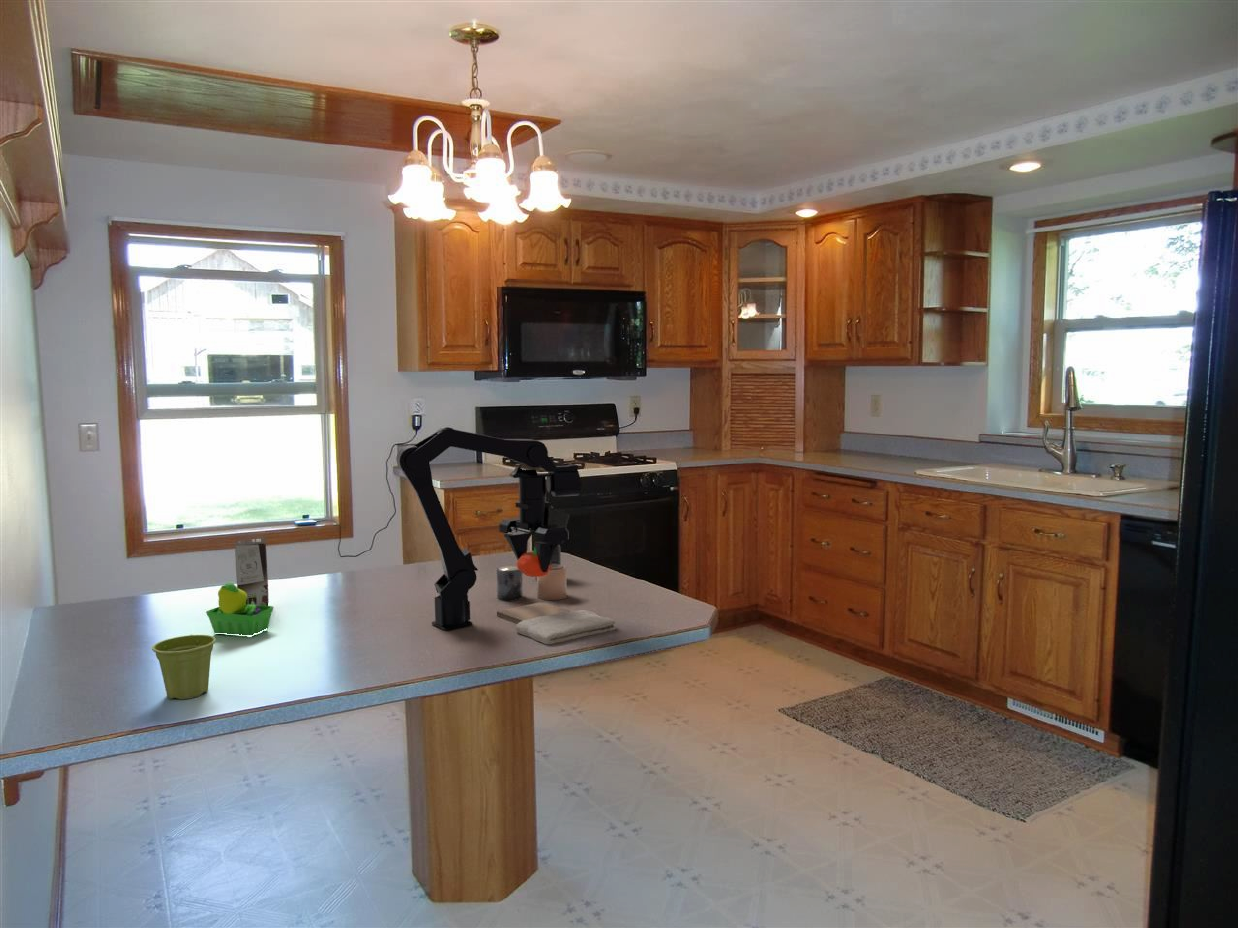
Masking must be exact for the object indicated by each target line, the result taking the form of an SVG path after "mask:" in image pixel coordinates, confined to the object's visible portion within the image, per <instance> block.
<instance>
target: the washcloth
mask: <svg viewBox="0 0 1238 928" xmlns="http://www.w3.org/2000/svg"><path fill="white" fill-rule="evenodd" d="M615 624H616V621H615V619H612V618H609V617H604V616H602V615H601V616H600V615H598V614H596V613H595V612H593V611H590V610H589V611H588V610H585V609H579V610H577V611H571V612H567V611H561V612H558V613H556V614H552V615H546V616H540V617H537V618H533V619H529V620H523V621H521V622H519V623H518V624H517V623H516V625H515V628H514V630H515V631H516V632H517V633H518V634H520V635H523V636H525V637H529V638H531V639H532V640H534V641H536V642H540V643H541V644H544V645H553V644H557V643H562V642H566V641H570V640H575V639H579V638H583V637H587V636H593V635H596V634H601V633H605V632H606V633H607V632H610V631H615V630H616V626H615Z"/></svg>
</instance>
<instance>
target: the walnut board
mask: <svg viewBox="0 0 1238 928" xmlns="http://www.w3.org/2000/svg"><path fill="white" fill-rule="evenodd" d="M561 611H567V612H571V611H570V610H567V609H565V608H561V607H558V606H555V605H552V604H550V603H547V602H543V601H540V602H535V603H531V604H526V605H521V606H516V607H512V608H507V609H501V610H497V611H496V617H499V618H502V619H505V620H507V621H509V622H513V623H515V624H516V625H517V624H518V623H519V622H521V621H523V620H529V619H533V618H537V617H540V616H546V615H552V614H556V613H558V612H561Z"/></svg>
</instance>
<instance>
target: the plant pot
mask: <svg viewBox="0 0 1238 928" xmlns="http://www.w3.org/2000/svg"><path fill="white" fill-rule="evenodd" d="M215 643H216V637H215V636H213V635H209V634H191V635H189V634H188V635H181V636H175V637H172V638H166V639H165V640H161V641H160V642H157V643H155V644H153V645H152V647H151V650H152V652H154V653H155V657H156V659H157V660H158V663H159V666H160V670H161V675H162V678H163V685H164V688H165V693H166V697H167V698H168V699H175V698H176V699H178V700H187V699H193V698H196V697H199V696H201V695H202V694H203V693H207V692H208V691H209V684H210V683H209V682H210V670H211V669H210V668H211V667H210V666H211V659H212V657H211V656H212V651H213V650H214V644H215Z"/></svg>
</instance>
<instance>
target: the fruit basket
mask: <svg viewBox="0 0 1238 928" xmlns="http://www.w3.org/2000/svg"><path fill="white" fill-rule="evenodd" d="M217 595H218V606H217V607H215V608H211V609H208V610H206V611H205V613H206V615H207V617H208V620H209V623H210V624H211V627H212V630H213V632H214V634H215V633H227V634H239V635H241V634H242V635H253V634H254V633H258V632H260V631H262V630H264V629H266V628H268V629H269V626H270V625H269V624H270V621H271V617H272V613H273V611H274V608H275V606H272V605H271V606H270V605H269V606H261V605H255V604H254V603H252V604H251V605H248V604H246V600H247V594H246V593H245V592H244V591H243V590H240V589H238V588H237V585H236V584H234V583H233V582H227V583H225V584H224V585H221V587H220V588H219V590H218V592H217Z"/></svg>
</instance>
